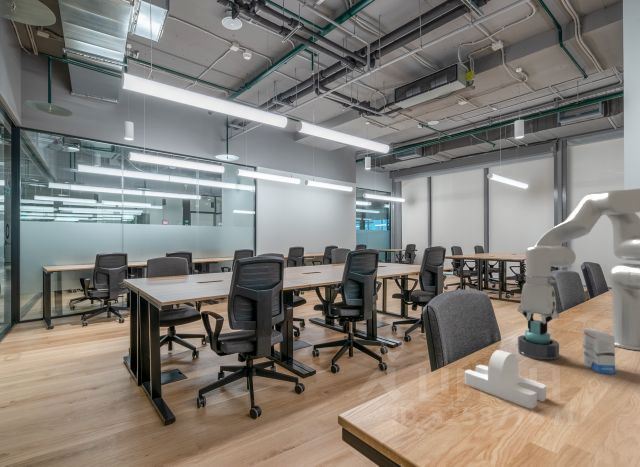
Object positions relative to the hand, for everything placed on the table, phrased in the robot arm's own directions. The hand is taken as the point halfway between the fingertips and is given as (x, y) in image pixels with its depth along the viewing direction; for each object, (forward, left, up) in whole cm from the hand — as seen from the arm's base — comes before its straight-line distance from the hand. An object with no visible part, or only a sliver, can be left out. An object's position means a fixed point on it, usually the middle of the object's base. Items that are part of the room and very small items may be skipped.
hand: (537, 332), depth 122 cm
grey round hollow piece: (0, 0, -8) cm, 8 cm away
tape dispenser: (+39, +6, -8) cm, 40 cm away
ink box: (-1, +17, -8) cm, 19 cm away
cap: (0, 0, -3) cm, 3 cm away
